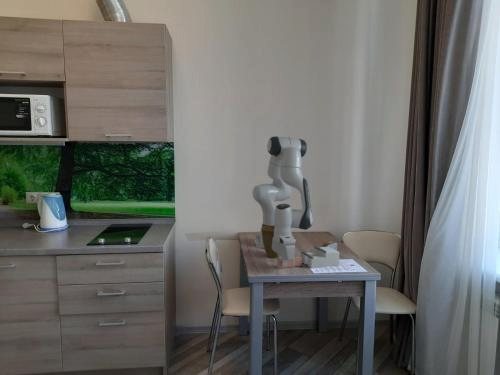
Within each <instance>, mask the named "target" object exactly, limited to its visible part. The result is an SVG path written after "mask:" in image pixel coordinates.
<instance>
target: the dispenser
mask: <svg viewBox="0 0 500 375" xmlns="http://www.w3.org/2000/svg"><path fill="white" fill-rule="evenodd" d="M313 247H314V251H309V252H308V251H307V252H306V251H304V250H302V251H301V257H302V264H304V265H307V267H309V268H310V269H316V268H319V267H320V268H327V267H328V266H329V267H337V266H338V267H339V266H340V254H341V253H340V251H339V250H337V251H336V250H334V249H332V248H330V247H322V246H321V247H319V246H317V245H314V246H313Z"/></svg>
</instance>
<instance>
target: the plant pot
mask: <svg viewBox="0 0 500 375" xmlns="http://www.w3.org/2000/svg"><path fill="white" fill-rule="evenodd" d="M274 228H275V226H263V227H262V226H261V227H260V231H261V232H262V239H263V244H264V248H263V249H264V251H265V253H266V256H267V257H268V258H270V259H277V258H278V254H277V253H276V252H274V251H273V250H272V239H273V237H274Z"/></svg>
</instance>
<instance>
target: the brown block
mask: <svg viewBox="0 0 500 375" xmlns="http://www.w3.org/2000/svg"><path fill="white" fill-rule="evenodd" d="M281 261H282V258H276V268H277V269H283V268H294V267H301V266H302V264H303V263H302V257H301V256H295V257H294V259H293V260H289V261H287V260H286V265H282V264H281Z"/></svg>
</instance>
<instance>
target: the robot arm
mask: <svg viewBox="0 0 500 375" xmlns="http://www.w3.org/2000/svg"><path fill="white" fill-rule="evenodd" d="M266 149H267V152H268V154H269V155H270V158H269V161H268V165H267V166H268V167H267V176H268V178H270V179H272V183H262V184H258V185H255V186H254V187H253V189H252V197H253V199H254V201H256V202H257V204H259V206H260V208H261V211H262V223H261V227H263V226H275V228H274V237H273V239H272V250H273V251H274V252H276V253H277V254H278V258H282V261H281V264H282V265H286V260H287V261H289V260H293V259H294V257H296V256H295V254H296V253H295V252H296V247H295V246H296V245H295V244H297V243H296V242H297V240H296V239H295V237H294V236H293V233H292V232H293V231H292V230H293V229H298V230H304V231H306V230H308V229H310V228H311V227H312V226H313V222H314V218H313V217H314V216H313V213H312V207H311V199H310V190H309V189H310V188H309V184H308V181H307V179H306V178H304V175H303V173H302V164H303V163H302V158H303V157H305V155H306V153H307V150H308V144H307V142H306V141H305V140H304V139H301V138H295V137H291V136H277V135H276V136H271V137H270V138H269V139H268V141H267V145H266ZM292 188H294V189H295V190H298V191H299V193H300V199H301V209H294V208H292V207H291V205H290V204H288V203H280V204H277V205H276V206H275V202H284V201H287V200H289V199H290V198H291V196H292V193H293V192H292V191H293V190H292ZM255 238H256V239H254V241H253V242H254V245H255V246H256V248H258V249H259V248H260V249H265V248H264V244H263V239H262V232H261V230H260V231H259V232H258V233H257V234H256V235H255Z"/></svg>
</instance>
